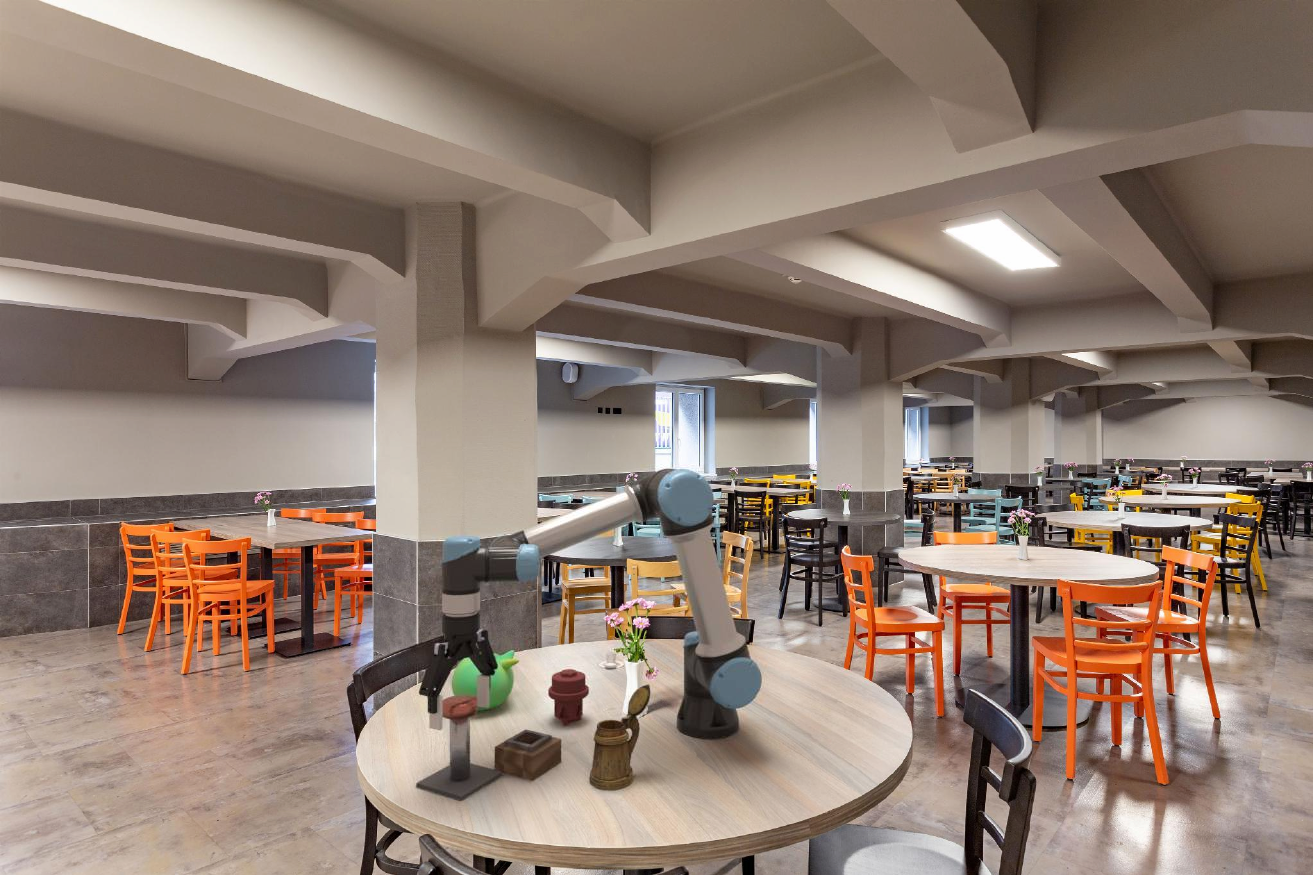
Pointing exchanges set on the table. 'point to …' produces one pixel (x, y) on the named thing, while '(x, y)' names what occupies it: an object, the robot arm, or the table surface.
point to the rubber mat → (461, 789)
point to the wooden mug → (617, 745)
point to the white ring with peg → (611, 661)
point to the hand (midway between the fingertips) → (460, 717)
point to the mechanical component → (568, 695)
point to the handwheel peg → (459, 733)
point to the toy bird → (500, 681)
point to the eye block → (528, 754)
